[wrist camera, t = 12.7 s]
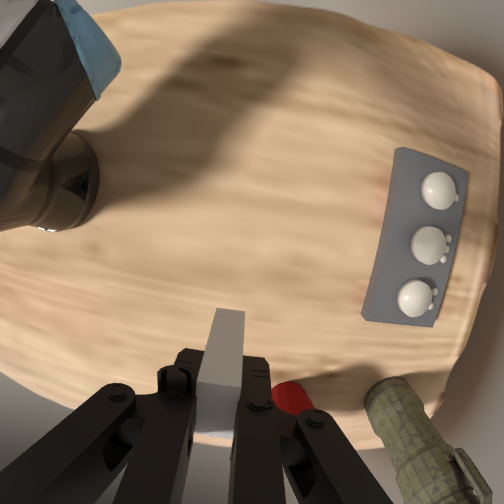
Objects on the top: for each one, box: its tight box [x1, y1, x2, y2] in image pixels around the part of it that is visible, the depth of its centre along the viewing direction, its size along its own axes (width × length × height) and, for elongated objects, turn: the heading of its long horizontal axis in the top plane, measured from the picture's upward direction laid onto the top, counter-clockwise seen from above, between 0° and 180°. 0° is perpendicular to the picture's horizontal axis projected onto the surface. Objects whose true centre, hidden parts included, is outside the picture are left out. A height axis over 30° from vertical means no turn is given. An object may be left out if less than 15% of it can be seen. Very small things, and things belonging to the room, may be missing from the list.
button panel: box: [361, 147, 468, 328], centre depth 38 cm, size 12×24×3 cm, turn 170°
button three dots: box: [410, 226, 446, 265], centre depth 37 cm, size 5×5×4 cm
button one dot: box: [421, 172, 456, 210], centre depth 35 cm, size 5×5×4 cm
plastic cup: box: [272, 382, 315, 415], centre depth 39 cm, size 11×11×12 cm
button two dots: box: [397, 279, 432, 317], centre depth 38 cm, size 5×5×4 cm
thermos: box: [364, 377, 492, 504], centre depth 27 cm, size 9×12×35 cm
